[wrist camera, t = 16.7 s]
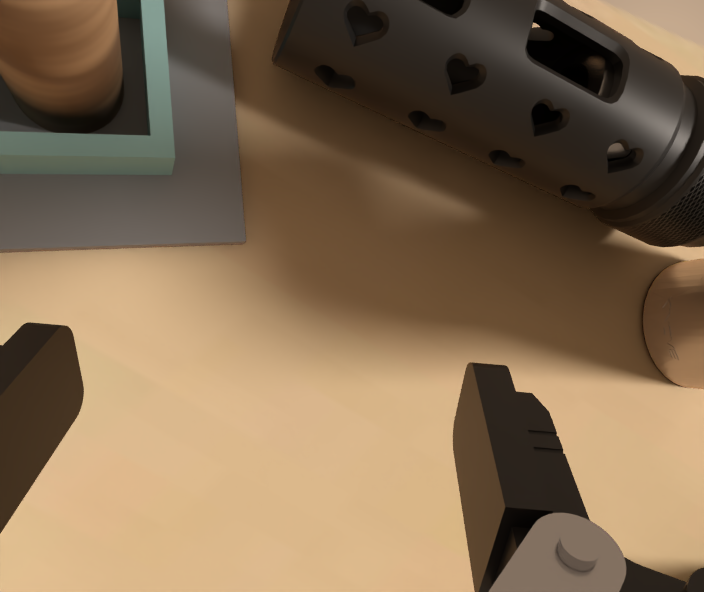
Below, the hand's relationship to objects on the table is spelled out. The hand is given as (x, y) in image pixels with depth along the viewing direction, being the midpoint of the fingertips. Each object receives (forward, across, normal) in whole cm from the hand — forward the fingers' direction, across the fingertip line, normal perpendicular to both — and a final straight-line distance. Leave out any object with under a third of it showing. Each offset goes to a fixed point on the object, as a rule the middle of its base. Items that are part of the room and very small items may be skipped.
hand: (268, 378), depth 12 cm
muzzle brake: (+29, -9, +2) cm, 30 cm away
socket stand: (+20, +13, -1) cm, 24 cm away
